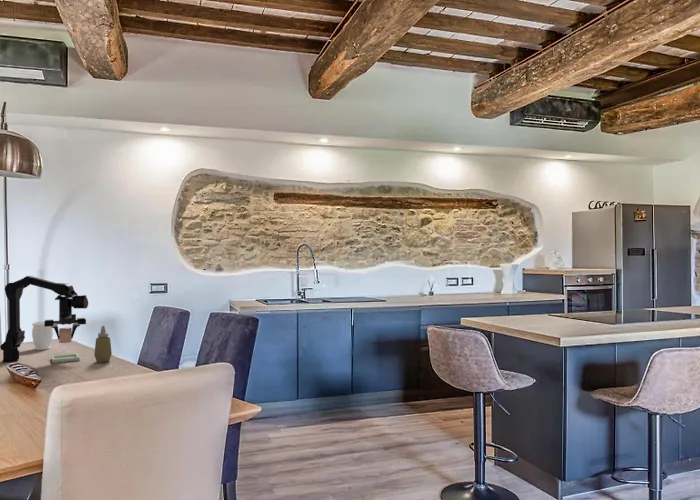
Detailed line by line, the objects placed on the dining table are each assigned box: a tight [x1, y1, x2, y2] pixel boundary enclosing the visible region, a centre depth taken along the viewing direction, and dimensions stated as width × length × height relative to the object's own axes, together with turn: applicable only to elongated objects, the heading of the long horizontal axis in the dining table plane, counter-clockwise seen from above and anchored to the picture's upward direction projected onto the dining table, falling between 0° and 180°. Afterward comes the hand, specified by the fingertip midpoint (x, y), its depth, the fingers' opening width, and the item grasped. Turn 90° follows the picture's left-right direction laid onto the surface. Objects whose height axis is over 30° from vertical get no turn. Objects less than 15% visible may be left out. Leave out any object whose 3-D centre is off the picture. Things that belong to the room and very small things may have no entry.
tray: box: [51, 353, 81, 364], centre depth 275 cm, size 12×12×2 cm
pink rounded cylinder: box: [58, 327, 72, 344], centre depth 275 cm, size 6×6×7 cm
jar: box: [31, 321, 54, 351], centre depth 307 cm, size 11×10×15 cm
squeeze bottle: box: [94, 325, 113, 364], centre depth 272 cm, size 8×8×18 cm
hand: (65, 339), depth 275 cm, fingers closed on pink rounded cylinder, 6 cm apart
